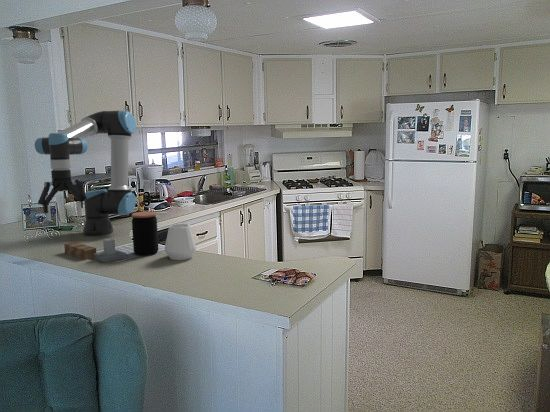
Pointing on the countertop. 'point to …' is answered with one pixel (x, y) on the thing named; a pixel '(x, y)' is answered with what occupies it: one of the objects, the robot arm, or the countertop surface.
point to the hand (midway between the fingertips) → (64, 218)
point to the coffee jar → (145, 233)
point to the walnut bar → (79, 250)
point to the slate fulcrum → (109, 252)
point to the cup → (180, 242)
